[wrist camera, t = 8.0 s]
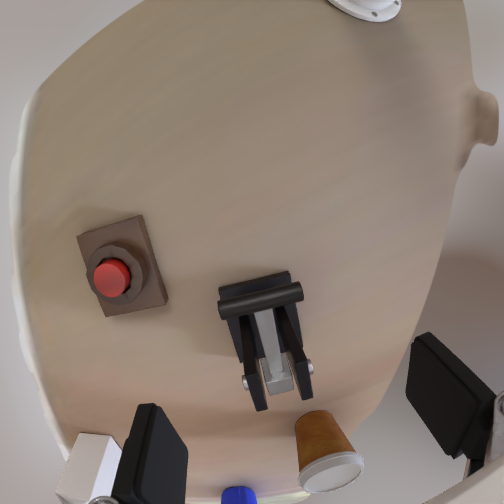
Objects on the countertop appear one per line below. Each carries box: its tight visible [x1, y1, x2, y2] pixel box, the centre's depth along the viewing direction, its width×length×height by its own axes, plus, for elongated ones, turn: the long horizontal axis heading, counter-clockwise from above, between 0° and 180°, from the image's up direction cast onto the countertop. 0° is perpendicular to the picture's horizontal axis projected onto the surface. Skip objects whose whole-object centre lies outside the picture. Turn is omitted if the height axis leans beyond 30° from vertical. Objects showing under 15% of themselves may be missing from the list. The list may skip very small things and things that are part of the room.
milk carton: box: [55, 433, 122, 504], centre depth 30 cm, size 7×7×19 cm
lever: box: [217, 282, 304, 396], centre depth 21 cm, size 12×5×2 cm, turn 12°
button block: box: [77, 215, 168, 317], centre depth 29 cm, size 10×8×4 cm
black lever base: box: [219, 271, 313, 412], centre depth 28 cm, size 10×8×13 cm
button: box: [94, 259, 130, 297], centre depth 27 cm, size 4×4×2 cm
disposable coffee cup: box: [295, 411, 364, 494], centre depth 34 cm, size 10×10×12 cm
